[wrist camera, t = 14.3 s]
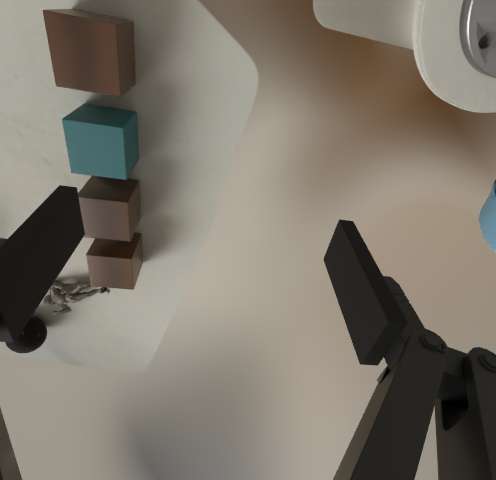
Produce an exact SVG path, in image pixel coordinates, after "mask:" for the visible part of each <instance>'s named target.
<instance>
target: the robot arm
mask: <svg viewBox="0 0 496 480" xmlns="http://www.w3.org/2000/svg"><path fill="white" fill-rule="evenodd" d="M459 34H460V42H461V47H462V50H463V53H464V55H465V57H466V59H467V60H468V62H469V63H470V64H471V66H472V67H473V68H475V69H476V70H477V71H479V72H480V73H482V74H484V75H487V76H490V77H494V78H496V0H463V4H462V8H461V14H460V22H459ZM479 224H480V227H481V229H482V234H483V236H484V238H485V239H486V241H487V243H488V244H489V245H490V247H491V248H492V249H493V250H494V251H495V252H496V180H495V182H494V183H493V186H492V191H491V193H490V195H489V197H488V199H487V200H486V202H485V204H484V205H483V207H482V209H481V211H480V215H479ZM84 235H85V231H84V225H83V220H82V214H81V209H80V203H79V197H78V192H77V187H69V186H59V187H58V188H57V189H56V190H55V191H54V192H53V193H52V194H51V195H50V196H49V197H48V198H47V199H46V200H45V201H44V202H43V203H42V204H41V205H40V206H39V207H38V208H37V209H36V210H35V211H34V212H33V213H32V214H31V216H30V217H29V218H28V219H27V220H26V221H25V222H24V223H23V224H22V225H21V226H20V227H19V228H18V229H17V230H16V231H15V232H14V233H13V234H12V235H11V236H10V237H9V238H8V239H3V238H0V341H1V342H15V341H16V339H17V338H18V336H19V335H20V333H21V332H22V330H23V329H24V327H25V326H26V324H27V322H28V321H29V319H30V318H31V316H32V315H33V313H34V312H35V310H36V309H37V307H38V306H39V304H40V302H41V301H42V299H43V298H44V296H45V295H46V293H47V292H48V290H49V289H50V287H51V286H52V284H53V283H54V281H55V279H56V278H57V276H58V275H59V273H60V272H61V270H62V269H63V267H64V266H65V264H66V263H67V261H68V260H69V258H70V256H71V255H72V253H73V252H74V250H75V249H76V247H77V246H78V244H79V243H80V241H81V240H82V238H83V237H84ZM324 262H325V265H326V268H327V271H328V274H329V277H330V279H331V282H332V285H333V288H334V291H335V294H336V297H337V300H338V302H339V305H340V308H341V311H342V314H343V317H344V319H345V323H346V325H347V328H348V331H349V334H350V337H351V340H352V343H353V346H354V348H355V351H356V354H357V357H358V360H359V362H360V364H363V365H364V364H365V365H378V364H379V363H380V361H381V360H382V359H383V357H384V358H385V360H386V363H387V365H388V366H387V367H386V368H385V370H384V371H383V372H382V374H381V375H380V376H379V378H378V379H377V381H378V384H377V386H376V389H375V391H374V393H373V395H372V397H371V399H370V401H369V404H368V406H367V408H366V410H365V413H364V414H363V417H362V419H361V421H360V423H359V425H358V427H357V429H356V431H355V434H354V436H353V438H352V440H351V442H350V444H349V446H348V449H347V451H346V453H345V455H344V457H343V459H342V461H341V464H340V466H339V468H338V470H337V472H336V474H335V476H334V479H333V480H414V478H415V475H416V471H417V468H418V464H419V460H420V457H421V453H422V449H423V446H424V442H425V438H426V434H427V431H428V427H429V424H430V420H431V416H432V413H433V409H434V405H435V421H436V439H437V457H438V458H437V459H438V476H439V477H438V478H439V480H496V355H495V354H494V353H492V352H491V351H489V350H487V349H483V348H480V347H477V348H473V349H472V350H470V351H469V352H468V354H466V353H463V352H461V351H458V350H455V349H452V348H449V347H447V345H446V343H445V342H444V341H443V340H442V339H441V338H440V336H438V335H437V334H435V333H434V332H432V331H430V330H427V329H425V328H424V326H423V324H422V323H421V321H420V319H419V317H418V316H417V314H416V312H415V311H414V309H413V307H412V306H411V304H410V303H409V300H408V299H407V297H406V296H405V294H404V292H403V290H402V289H401V287H400V285H399V284H398V283H397V282H395V280H394V279H392V278H391V277H386V276H383V275H382V274H381V272H380V270H379V268H378V266H377V265H376V263H375V261H374V259H373V258H372V255H371V253H370V252H369V250H368V248H367V246H366V244H365V242H364V241H363V239H362V237H361V235H360V233H359V232H358V230H357V228H356V226H355V224H354V222H353V221H346V220H339V222H338V224H337V227H336V229H335V232H334V234H333V237H332V239H331V242H330V244H329V247H328V249H327V252H326V254H325V257H324ZM0 480H22V478H21V474H20V471H19V468H18V464H17V461H16V458H15V454H14V451H13V448H12V445H11V441H10V438H9V435H8V432H7V428H6V425H5V421H4V418H3V415H2V412H1V409H0Z"/></svg>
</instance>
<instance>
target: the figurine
mask: <svg viewBox="0 0 496 480" xmlns="http://www.w3.org/2000/svg"><path fill="white" fill-rule="evenodd" d="M89 284H91V282H81V283H80V282H78V283H75V284H65V285H64V284H60V283H57V282H54V283H53V284H52V286H51V287H50V295H48V296H46V297H45V299H44V304H47V305H48V304H49V305H53V304H55V303H56V304H57V305H58V306H60V307H63V309H62V310H61V311H53V315H58V314H64V313H67V312H71V309H70V307H68V306H67V305H66V303H67V302H72V303H74V302H77V301H80V300H82V299H84V298H86V297H89V296H92V295H94V294H96V293H98V292H99V291H101V293H104V292H105V291H106V292H108V293H109V292H110V290H109V289H107V287H103V288H100V289H94V290H91V291H89V292H83V293H79V292H80V291H81V289H82V287H88V286H89ZM66 285H67V287H66ZM99 293H100V292H99Z"/></svg>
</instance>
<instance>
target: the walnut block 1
mask: <svg viewBox="0 0 496 480" xmlns="http://www.w3.org/2000/svg"><path fill="white" fill-rule="evenodd" d="M43 15H44V20H45V26H46V32H47V37H48V43H49V49H50V54H51V60H52V66H53V71H54V77H55V83H56V86H58V87H64V88H70V89H76V90H83V91H89V92H95V93H101V94H107V95H114V96H120V97H121V96H122V95H123V94H125V93H126V92H127V91H128V90H129V89H130V88H132V87H133V86H134V85H135V59H134V33H133V21H131V20H126V19H121V18H115V17H110V16H105V15H100V14H95V13H90V12H85V11H79V10H74V9H55V10H43Z"/></svg>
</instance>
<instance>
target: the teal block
mask: <svg viewBox="0 0 496 480" xmlns="http://www.w3.org/2000/svg"><path fill="white" fill-rule="evenodd" d="M62 122H63V128H64V133H65V139H66V145H67V150H68V156H69V162H70V167H71V173H76V174H84V175H92V176H100V177H108V178H116V179H123V180H127V178H128V176H129V175H130V173H131V171H132V170H133V168H134V166H135V164H136V163H137V161H138V135H137V113H136V112H132V111H125V110H119V109H113V108H106V107H100V106H93V105H87V104H83V105H82V106H80V107H79V108H77V109H76V110H74V111H73V112H71V113H70V114H69V115H67V116H66V117H64V118H63V119H62Z"/></svg>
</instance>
